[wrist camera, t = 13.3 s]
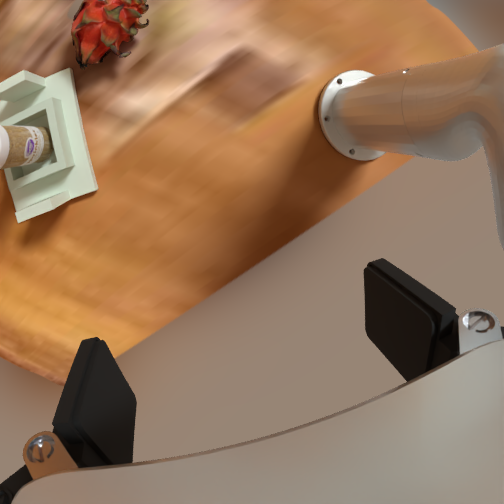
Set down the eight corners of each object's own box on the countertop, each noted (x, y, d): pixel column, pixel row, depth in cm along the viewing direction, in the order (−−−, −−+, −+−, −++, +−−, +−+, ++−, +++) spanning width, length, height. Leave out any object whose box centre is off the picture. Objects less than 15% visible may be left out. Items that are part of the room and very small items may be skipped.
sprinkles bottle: (57, 159, 32) (1, 171, 20) (26, 165, 31) (-34, 180, 19) (55, 122, 30) (-2, 117, 18) (24, 129, 30) (-38, 130, 17)
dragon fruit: (151, -2, 30) (102, 73, 34) (100, -29, 23) (48, 53, 27) (178, -3, 25) (118, 86, 29) (117, -39, 19) (52, 61, 22)
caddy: (72, 69, 30) (51, 56, 23) (98, 188, 36) (81, 199, 29) (-3, 105, 28) (-32, 102, 22) (22, 216, 34) (-4, 232, 27)
